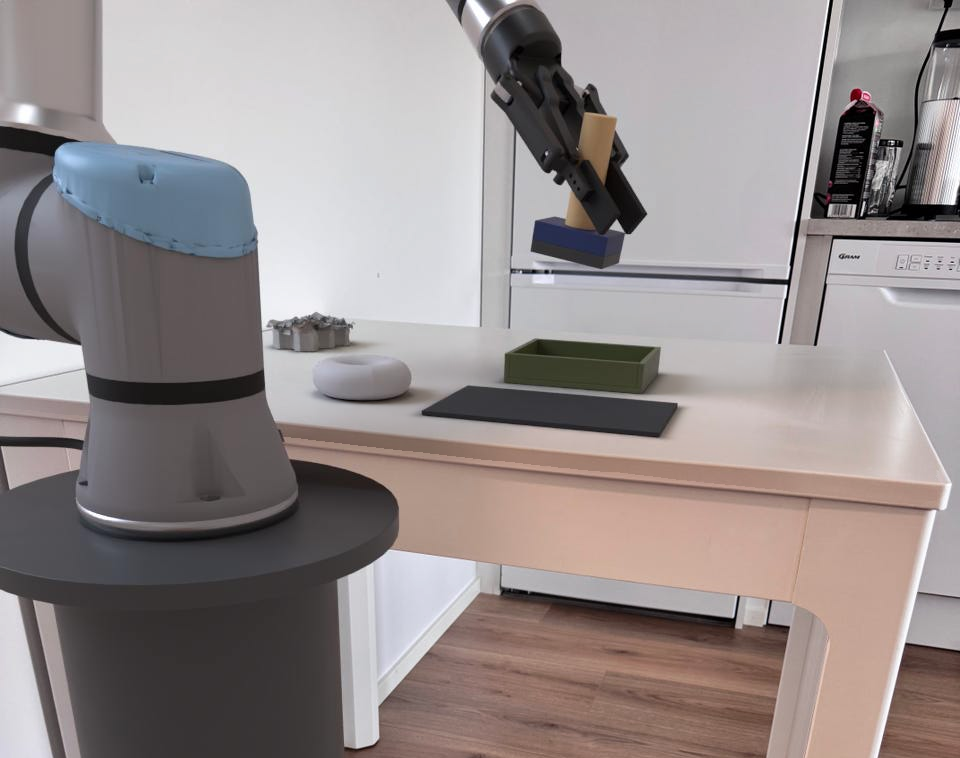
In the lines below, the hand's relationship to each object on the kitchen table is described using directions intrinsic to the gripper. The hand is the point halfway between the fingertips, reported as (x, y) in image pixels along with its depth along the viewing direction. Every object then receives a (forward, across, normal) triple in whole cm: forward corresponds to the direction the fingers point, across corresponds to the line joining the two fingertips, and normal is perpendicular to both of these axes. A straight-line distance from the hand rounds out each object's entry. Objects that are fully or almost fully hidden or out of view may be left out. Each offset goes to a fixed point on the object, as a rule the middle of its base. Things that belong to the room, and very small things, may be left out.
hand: (623, 224), depth 92 cm
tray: (+6, +5, +18) cm, 19 cm away
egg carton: (-20, -8, +44) cm, 49 cm away
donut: (+1, -21, +22) cm, 31 cm away
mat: (+13, -10, +10) cm, 20 cm away
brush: (-2, 0, +7) cm, 7 cm away
